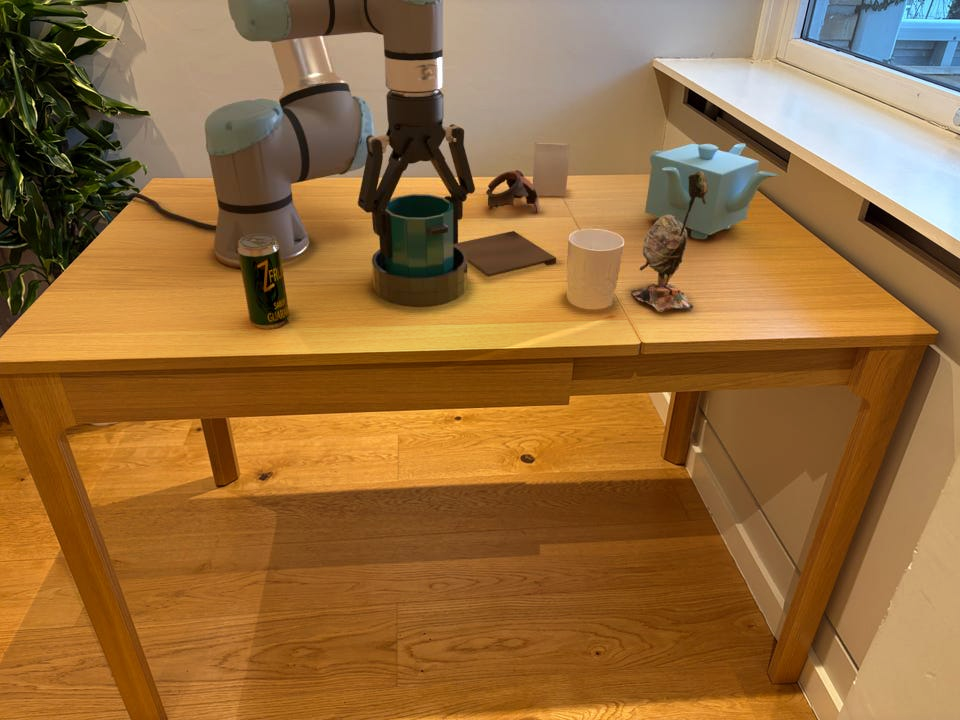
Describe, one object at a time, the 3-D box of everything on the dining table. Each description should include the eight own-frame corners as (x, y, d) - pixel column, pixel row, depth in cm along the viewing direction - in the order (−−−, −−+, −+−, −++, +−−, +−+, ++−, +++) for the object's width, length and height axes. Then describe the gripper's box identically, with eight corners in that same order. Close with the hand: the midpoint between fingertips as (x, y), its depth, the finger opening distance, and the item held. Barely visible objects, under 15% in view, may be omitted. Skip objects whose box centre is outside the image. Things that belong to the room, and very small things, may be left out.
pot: (373, 274, 113) (367, 197, 106) (430, 261, 117) (428, 186, 110) (409, 310, 103) (406, 227, 96) (470, 294, 107) (471, 215, 101)
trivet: (448, 250, 123) (448, 244, 122) (513, 236, 128) (513, 230, 128) (488, 280, 113) (488, 274, 113) (555, 263, 119) (556, 257, 118)
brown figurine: (672, 280, 114) (694, 154, 103) (697, 315, 105) (725, 180, 94) (622, 282, 113) (639, 155, 103) (643, 316, 104) (664, 181, 93)
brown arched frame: (543, 221, 135) (524, 187, 130) (498, 238, 139) (478, 205, 134) (544, 185, 143) (526, 151, 138) (501, 201, 147) (483, 169, 142)
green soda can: (242, 324, 100) (227, 243, 94) (269, 308, 104) (256, 230, 98) (271, 334, 98) (258, 252, 92) (298, 317, 102) (287, 238, 96)
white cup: (581, 285, 112) (587, 224, 107) (626, 300, 108) (634, 238, 103) (552, 303, 107) (557, 240, 102) (598, 320, 103) (605, 255, 97)
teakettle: (637, 206, 142) (648, 130, 134) (734, 209, 141) (750, 133, 133) (651, 244, 126) (664, 161, 118) (760, 248, 125) (780, 164, 117)
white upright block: (565, 196, 146) (569, 147, 140) (532, 195, 146) (535, 145, 141) (565, 190, 149) (569, 141, 143) (532, 189, 149) (535, 140, 144)
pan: (359, 279, 112) (357, 250, 110) (440, 261, 119) (440, 233, 116) (398, 318, 102) (396, 287, 99) (484, 296, 108) (485, 266, 106)
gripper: (344, 105, 87) (357, 272, 99) (502, 87, 97) (498, 241, 109) (322, 93, 93) (338, 252, 105) (475, 77, 102) (473, 225, 114)
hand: (419, 247), depth 107 cm, fingers closed on pot, 10 cm apart
